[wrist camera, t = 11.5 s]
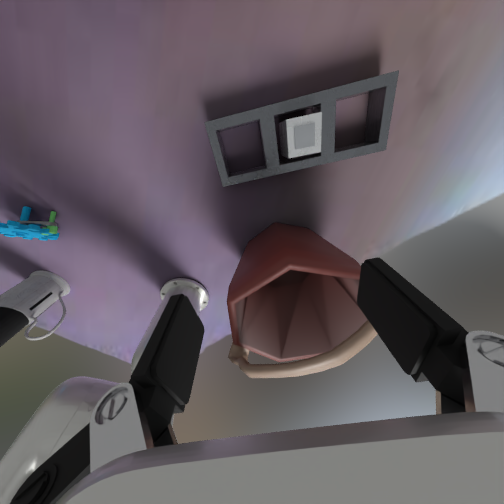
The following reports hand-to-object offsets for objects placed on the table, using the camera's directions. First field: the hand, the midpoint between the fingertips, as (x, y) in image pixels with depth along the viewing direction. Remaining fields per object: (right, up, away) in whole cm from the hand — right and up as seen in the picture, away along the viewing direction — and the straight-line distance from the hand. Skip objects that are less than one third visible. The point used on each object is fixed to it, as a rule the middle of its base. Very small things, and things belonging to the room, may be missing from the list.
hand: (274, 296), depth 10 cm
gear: (-45, +9, +28) cm, 53 cm away
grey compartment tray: (+6, +22, +20) cm, 30 cm away
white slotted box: (+6, +22, +20) cm, 30 cm away
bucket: (+5, +2, +33) cm, 33 cm away
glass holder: (-51, -6, +37) cm, 63 cm away
